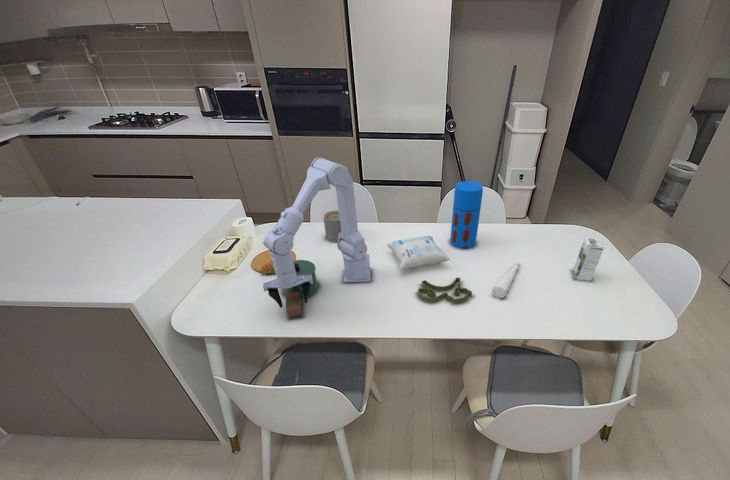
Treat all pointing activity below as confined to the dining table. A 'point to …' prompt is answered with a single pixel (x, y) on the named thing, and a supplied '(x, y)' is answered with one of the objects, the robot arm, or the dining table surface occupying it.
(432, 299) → the cookie cutter
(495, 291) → the unicorn horn
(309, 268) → the pot lid
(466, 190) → the thermos
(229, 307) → the dining table surface
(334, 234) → the coffee mug
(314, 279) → the pot
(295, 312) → the brown rectangular block
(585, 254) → the syrup box
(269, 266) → the pastry
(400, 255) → the pouch
